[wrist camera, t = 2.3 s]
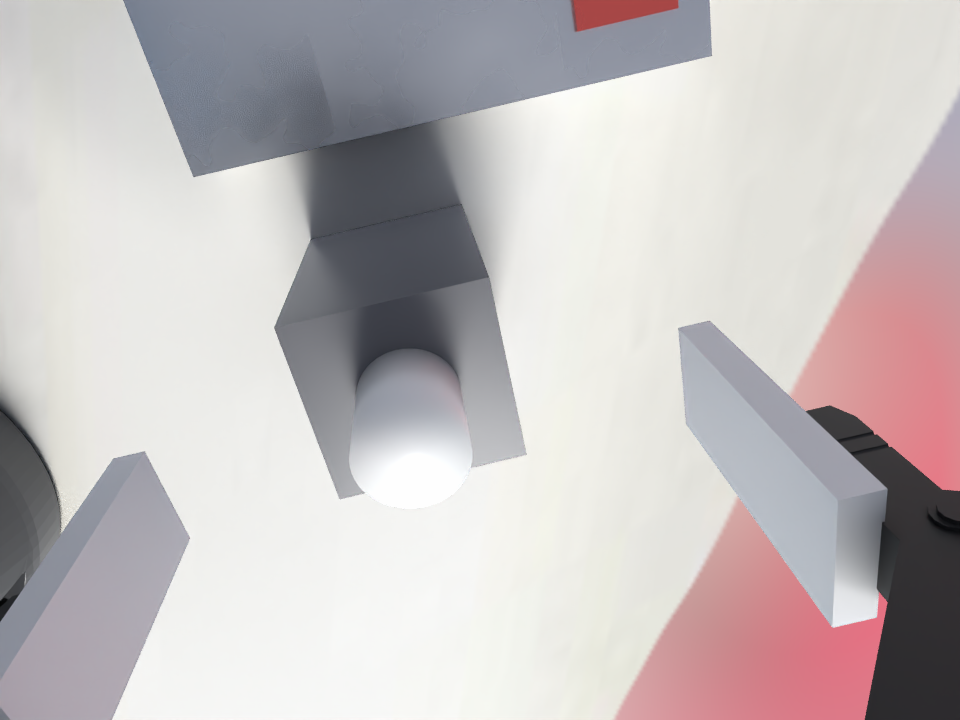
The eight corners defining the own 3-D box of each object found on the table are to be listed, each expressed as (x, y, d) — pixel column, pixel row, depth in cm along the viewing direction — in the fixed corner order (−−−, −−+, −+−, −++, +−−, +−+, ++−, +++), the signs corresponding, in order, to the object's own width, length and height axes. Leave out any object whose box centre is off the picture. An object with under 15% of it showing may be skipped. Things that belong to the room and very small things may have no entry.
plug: (355, 372, 26) (330, 574, 17) (311, 239, 24) (250, 384, 14) (491, 340, 26) (547, 522, 17) (461, 203, 24) (506, 323, 14)
